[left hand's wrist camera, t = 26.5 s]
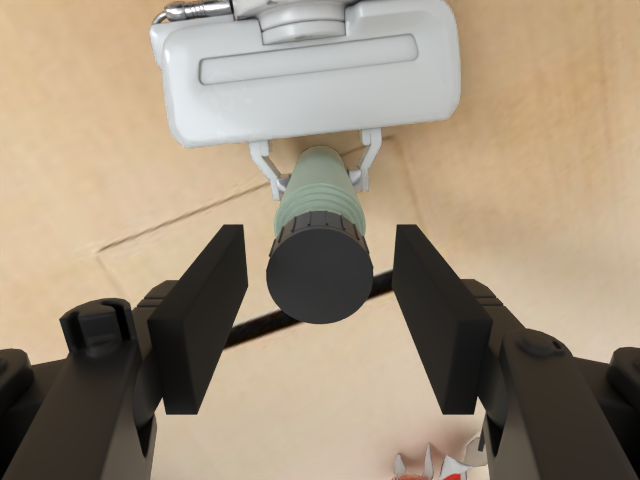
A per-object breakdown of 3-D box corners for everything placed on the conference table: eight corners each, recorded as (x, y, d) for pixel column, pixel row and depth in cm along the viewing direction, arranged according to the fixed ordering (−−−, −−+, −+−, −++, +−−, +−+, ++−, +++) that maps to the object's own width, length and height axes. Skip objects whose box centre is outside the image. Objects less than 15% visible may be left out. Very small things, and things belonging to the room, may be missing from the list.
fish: (357, 463, 40) (416, 565, 33) (458, 389, 45) (530, 464, 38) (363, 491, 47) (413, 581, 40) (450, 425, 52) (509, 494, 44)
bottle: (317, 203, 34) (313, 340, 14) (285, 167, 33) (233, 261, 13) (353, 173, 33) (405, 275, 13) (322, 134, 32) (327, 183, 12)
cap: (366, 294, 15) (373, 324, 13) (276, 297, 15) (269, 327, 13) (368, 207, 14) (376, 225, 12) (268, 210, 14) (259, 229, 12)
